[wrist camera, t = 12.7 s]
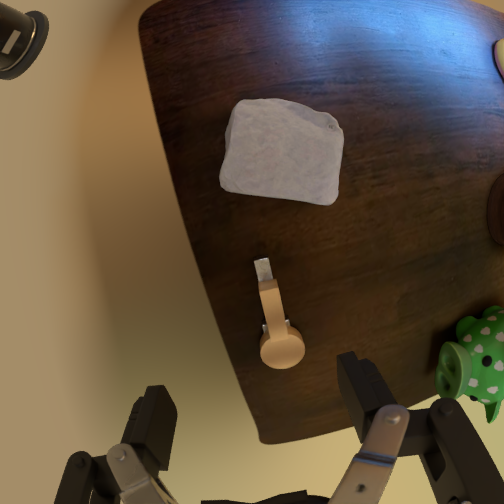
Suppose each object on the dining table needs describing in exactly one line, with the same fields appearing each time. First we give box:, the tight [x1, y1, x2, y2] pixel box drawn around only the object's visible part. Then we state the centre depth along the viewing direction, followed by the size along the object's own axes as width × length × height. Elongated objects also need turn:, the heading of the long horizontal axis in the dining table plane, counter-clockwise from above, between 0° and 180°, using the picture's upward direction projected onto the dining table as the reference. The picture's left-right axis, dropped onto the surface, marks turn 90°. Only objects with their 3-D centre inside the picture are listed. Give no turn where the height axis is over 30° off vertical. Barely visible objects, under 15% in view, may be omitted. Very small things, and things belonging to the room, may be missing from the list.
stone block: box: [219, 99, 344, 205], centre depth 28 cm, size 12×5×10 cm
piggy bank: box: [435, 306, 504, 424], centre depth 30 cm, size 14×18×15 cm
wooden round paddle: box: [258, 279, 305, 369], centre depth 32 cm, size 11×5×2 cm, turn 13°
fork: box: [254, 254, 290, 333], centre depth 34 cm, size 14×3×1 cm, turn 13°
